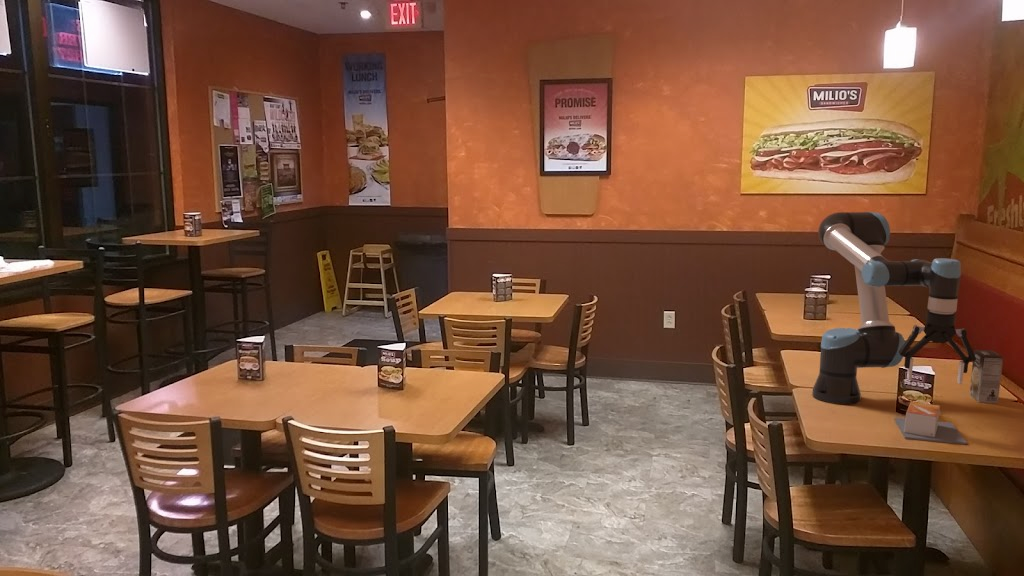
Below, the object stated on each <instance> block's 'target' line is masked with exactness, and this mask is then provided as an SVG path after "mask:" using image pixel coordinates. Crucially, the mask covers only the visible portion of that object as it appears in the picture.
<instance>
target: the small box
mask: <svg viewBox="0 0 1024 576" xmlns="http://www.w3.org/2000/svg"><path fill="white" fill-rule="evenodd" d="M940 409H941V405H937V404H930V403H924V402H916V401H910V403H909V405H908V408H907V410H906V413H905V418H904V419H905V428H904V432H905V433H911V434H916V435H921V436H928V437H935V434H936V431H937V427H938V422H939V419H940Z"/></svg>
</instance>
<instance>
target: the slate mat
mask: <svg viewBox="0 0 1024 576" xmlns="http://www.w3.org/2000/svg"><path fill="white" fill-rule="evenodd" d="M894 419H895V420H894ZM905 419H906V418H904V417H903V418H902V417H894V418H893V420H894V422H895V421H896V422H895V423H897V424H896V425H897V427H898V426H899V427H898V429H899V428H900V429H899V431H900V430H901V431H900V433H901V434H902V436H903V438H904V440H912V441H913V440H915V441H923V442H933V443H934V442H935V443H943V444H944V442H945V444H946V443H947V444H955V445H968V442H967V441H966V440H965V438H964V437H963V435H962V434H961V433H960V431H959V430H958V429H957V428H956V426H955V425H954V424H953V423H952V422H951V421H949V422H948V421H938V427H937V431H936V434H935V437H928V436H921V435H916V434H911V433H905V432H904V428H905Z"/></svg>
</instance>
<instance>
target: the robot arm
mask: <svg viewBox="0 0 1024 576" xmlns="http://www.w3.org/2000/svg"><path fill="white" fill-rule="evenodd" d="M890 236H891V228H890V223H889V221H888V219H887V218H886V217H885V215H883V214H881V213H879V212H871V211H865V212H862V211H860V212H857V211H856V212H855V211H853V212H851V211H850V212H848V211H846V212H844V211H843V212H842V211H839V212H834V213H831V214H829V215H828V216H826V217H824V219H823V220H822V221H821V222H820V224H819V227H818V238H819V240H820V242H821V244H822V245H824V246H825V247H826V248H827V249H829V250H832V251H835V252H837V253H838V254H840V256H842V258H845V259H846V260H847V261H848V262H849V263H851V264H852V265H854V271H855V278H856V288H857V297H858V303H859V313H860V321H861V324H860V326H858V328H857V329H856V328H851V327H847V328H845V327H838V328H831V329H828V330H825V332H823V334H822V337H821V343H820V360H819V372H818V376H817V378H816V381H815V383H814V385H813V387H812V392H811V393H812V394H811V395H812V397H813V398H814V399H817V400H819V401H821V400H822V402H825V401H826V402H825V403H830V402H833V403H832V404H837V403H844V404H843V405H850V404H851V403H853V404H858V403H860V402H861V395H862V394H861V389H860V387H859V382H858V379H857V374H858V373H857V372H858V369H859V368H864V369H866V368H881V369H885V368H890V367H896V366H897V365H899V364H900V363H901V362H902V360H903V358H904V364H903V365H904V369H907V373H906V374H907V375H906V378H907V380H908V381H912V379H913V378H912V377H913V376H912V375H913V367H914V358H913V357H914V355H916V354H917V353H918V352H919V351H920V350H921V349H922V348H924V347H926V345H927V344H929V343H930V342H932V343H935V344H936V343H940V344H945V343H949V345H950V346H951V348H953V350H954V351H955V352H956V353H957V354H958V356H959V357H960V359H961V360H959V362H958V367H957V368H958V370H957V379H956V383H958V385H963V378H964V374H967V373H968V370H969V368H968V367H969V364H970V362H973V361H976V357H975V355H974V350H973V347H972V346H971V344H970V342H969V340H968V338H967V337H968V336H967V335H968V334H967V330H966V329H965V328H964V327H961V328H957V329H956V327H955V325H956V319H957V318H956V317H957V315H956V312H957V310H958V309H957V307H958V296H959V291H960V290H959V289H960V282H961V276H962V272H961V271H962V270H961V269H962V263H961V261H959V260H958V259H954V258H945V257H943V258H942V257H940V258H939V257H938V258H934V259H933V260H932V261H928V260H926V259H917V258H915V259H911V260H905V261H904V260H903V261H901V260H900V261H899V260H894V261H893V260H889V259H887V258H886V257H884V256H883V255H882V252H883V251H884V250H885V245H887V244H888V242H889V241H890ZM916 286H917V287H925V288H928V289H929V290H928V299H927V301H928V302H927V311H926V318H925V325H924V326H918V325H917V324H915V325H913V327H912V331H911V332H910V334H909V336H908V337H907V339H906V340H905V338H904V337H903V334H901V333H899V332H898V331H896V326H895V325H894V324H893V323H892V322H891V321H890V318H889V317H890V316H889V309H888V303H887V301H888V300H887V295H886V294H887V293H886V287H916ZM922 332H924V334H925V335H923V337H922V338H921V339H920V340H919V341H918V342H917V343H916V344H914V346H912V345H913V343H914V342H915V341H916V339H917V337H918V336H919V335H921V334H922ZM956 334H957V336H958V337H960V340H961V342H962V344H963V347H964V349H965V351H966V354H967V356H966V354H965V353H964V352H963V350H961V348H960V347H959V346H958V345H957V343H956V342H955V341H954V340H953V337H954V336H955V335H956ZM911 346H912V347H911ZM851 405H852V404H851Z"/></svg>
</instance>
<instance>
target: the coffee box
mask: <svg viewBox="0 0 1024 576" xmlns="http://www.w3.org/2000/svg"><path fill="white" fill-rule="evenodd" d="M973 353H974V355H975V357H976V361H972V365H971V368H972V369H971V376H970V385H969V386H970V387H969V396H971V397H972V398H973V399H974V400H975V401H976V402H978V403H985V404H998V403H999V398H1000V387H1001V380H1002V373H1003V372H1002V371H1003V361H1004V356H1002V355H1000V354H999V353H998V352H997V351H995V350H986V349H985V350H984V349H983V350H982V349H974V350H973Z"/></svg>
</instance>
